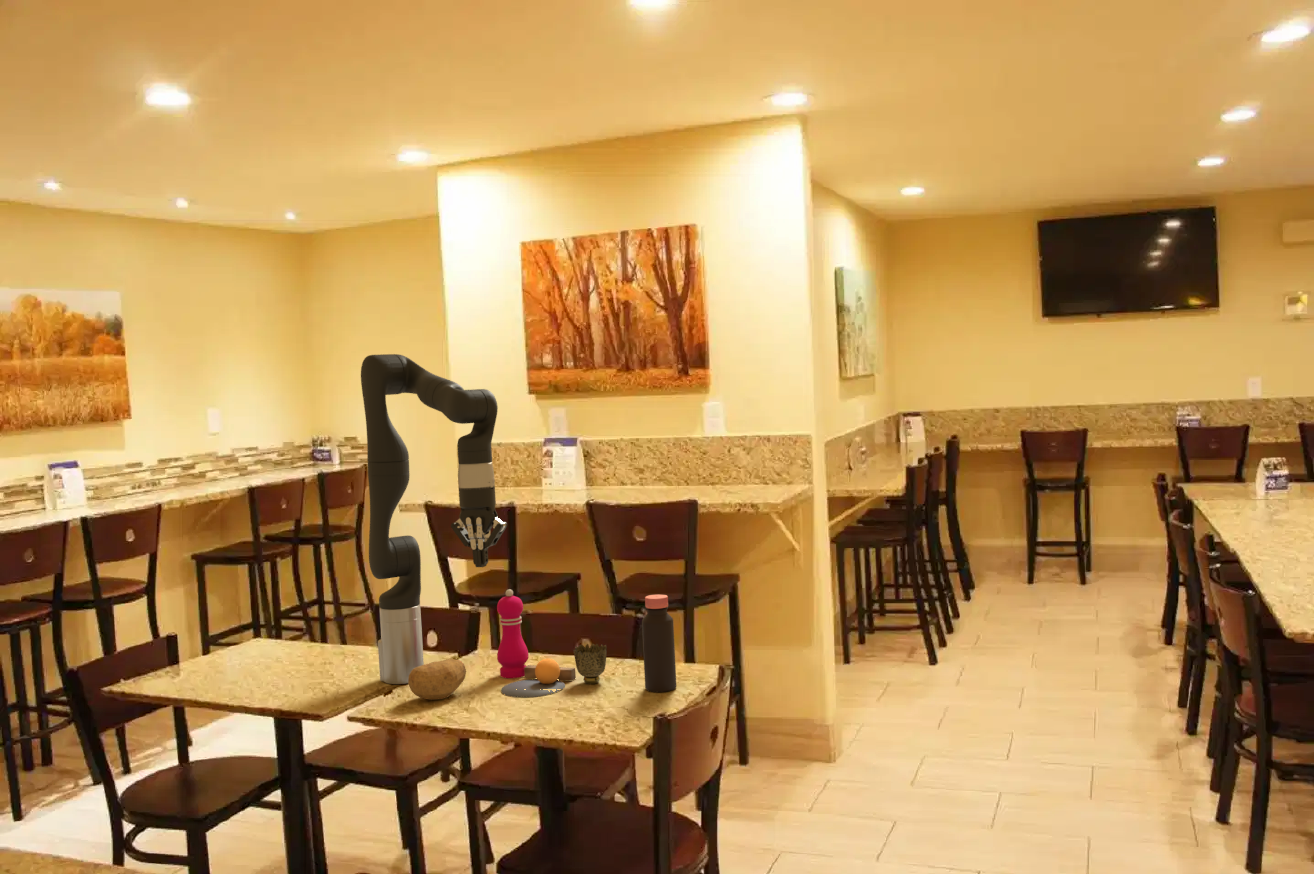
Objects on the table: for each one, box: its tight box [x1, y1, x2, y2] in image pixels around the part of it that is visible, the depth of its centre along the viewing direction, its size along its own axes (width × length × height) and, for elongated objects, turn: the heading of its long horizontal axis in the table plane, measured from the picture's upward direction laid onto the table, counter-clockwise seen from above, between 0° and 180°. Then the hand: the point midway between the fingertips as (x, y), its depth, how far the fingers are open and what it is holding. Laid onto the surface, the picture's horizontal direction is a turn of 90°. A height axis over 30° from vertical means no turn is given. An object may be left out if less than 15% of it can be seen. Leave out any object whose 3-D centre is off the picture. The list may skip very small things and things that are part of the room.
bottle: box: [641, 593, 677, 693], centre depth 232 cm, size 7×7×20 cm
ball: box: [535, 658, 561, 684], centre depth 241 cm, size 6×6×6 cm
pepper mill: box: [496, 588, 530, 679], centre depth 250 cm, size 7×7×20 cm
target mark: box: [500, 678, 566, 698], centre depth 238 cm, size 14×14×1 cm
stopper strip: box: [524, 664, 577, 681], centre depth 245 cm, size 12×2×2 cm, turn 68°
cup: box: [572, 643, 608, 685], centre depth 240 cm, size 8×7×8 cm
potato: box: [407, 658, 467, 701], centre depth 234 cm, size 10×14×8 cm
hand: (481, 566), depth 227 cm, fingers closed
